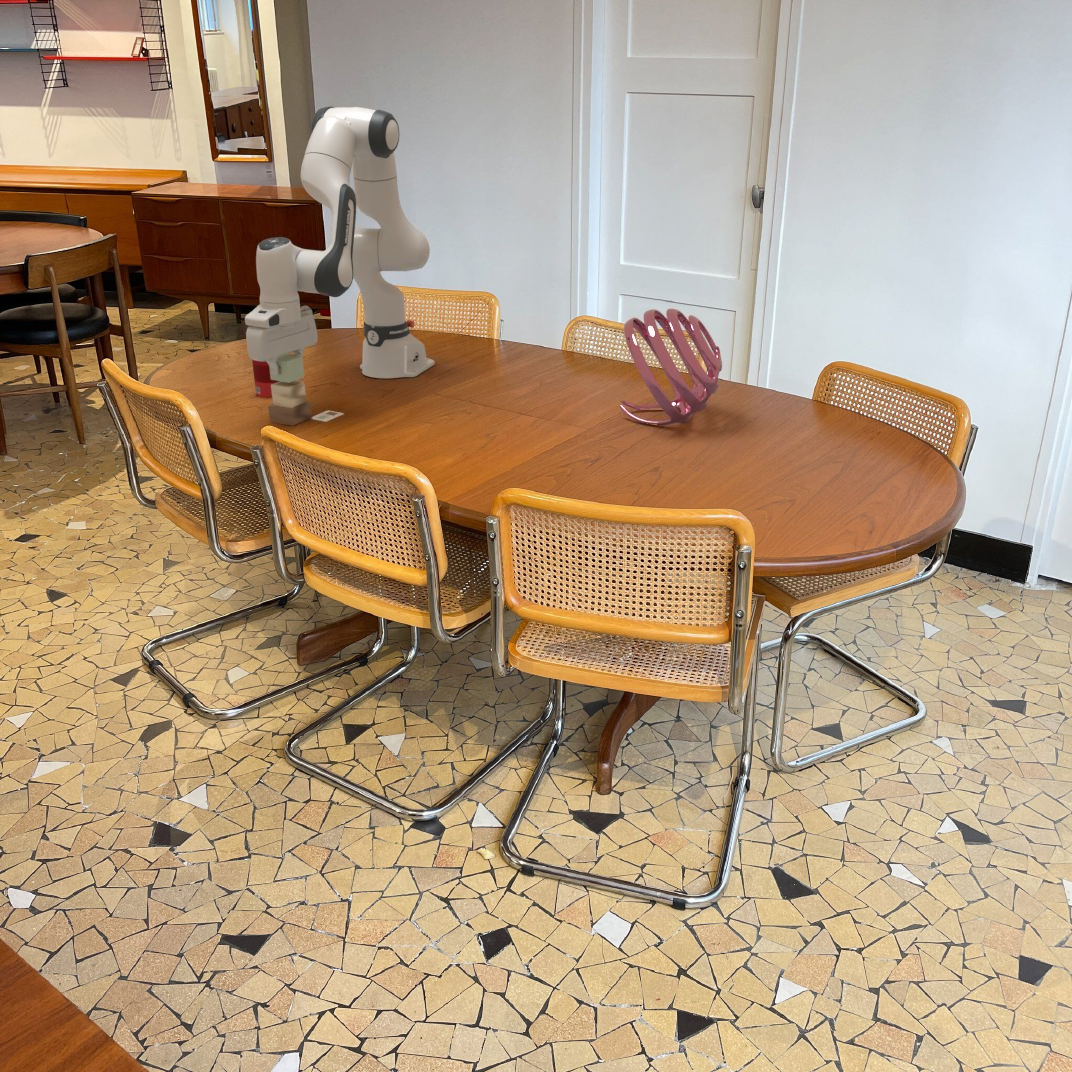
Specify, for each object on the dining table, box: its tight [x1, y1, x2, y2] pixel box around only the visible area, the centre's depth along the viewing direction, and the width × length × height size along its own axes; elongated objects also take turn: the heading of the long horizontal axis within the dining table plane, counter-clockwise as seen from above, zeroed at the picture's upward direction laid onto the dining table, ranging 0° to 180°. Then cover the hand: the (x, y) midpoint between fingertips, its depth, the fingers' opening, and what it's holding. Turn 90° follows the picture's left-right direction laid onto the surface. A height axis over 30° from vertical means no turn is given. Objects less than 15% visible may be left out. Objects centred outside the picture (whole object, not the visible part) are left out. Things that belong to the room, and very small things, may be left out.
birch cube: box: [271, 380, 308, 408], centre depth 238 cm, size 6×6×5 cm
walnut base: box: [267, 400, 313, 427], centre depth 240 cm, size 7×7×4 cm
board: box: [309, 409, 345, 423], centre depth 242 cm, size 18×18×1 cm
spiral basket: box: [618, 308, 723, 426], centre depth 242 cm, size 28×28×27 cm
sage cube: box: [269, 353, 305, 383], centre depth 235 cm, size 6×6×5 cm
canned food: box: [251, 359, 280, 399], centre depth 258 cm, size 8×8×11 cm
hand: (286, 371), depth 235 cm, fingers closed on sage cube, 5 cm apart
